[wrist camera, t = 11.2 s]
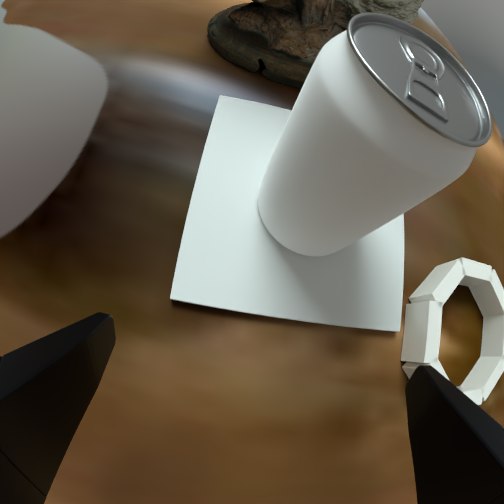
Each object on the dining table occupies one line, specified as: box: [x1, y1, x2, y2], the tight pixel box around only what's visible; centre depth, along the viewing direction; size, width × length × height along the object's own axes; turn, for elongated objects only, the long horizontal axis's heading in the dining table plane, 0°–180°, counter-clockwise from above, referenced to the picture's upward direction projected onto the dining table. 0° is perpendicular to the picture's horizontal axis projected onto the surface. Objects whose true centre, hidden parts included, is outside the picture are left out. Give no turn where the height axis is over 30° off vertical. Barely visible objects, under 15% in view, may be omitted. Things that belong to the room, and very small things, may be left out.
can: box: [258, 12, 492, 256], centre depth 13 cm, size 6×6×12 cm
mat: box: [170, 95, 404, 332], centre depth 19 cm, size 14×14×1 cm
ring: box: [401, 258, 504, 405], centre depth 17 cm, size 10×10×2 cm
